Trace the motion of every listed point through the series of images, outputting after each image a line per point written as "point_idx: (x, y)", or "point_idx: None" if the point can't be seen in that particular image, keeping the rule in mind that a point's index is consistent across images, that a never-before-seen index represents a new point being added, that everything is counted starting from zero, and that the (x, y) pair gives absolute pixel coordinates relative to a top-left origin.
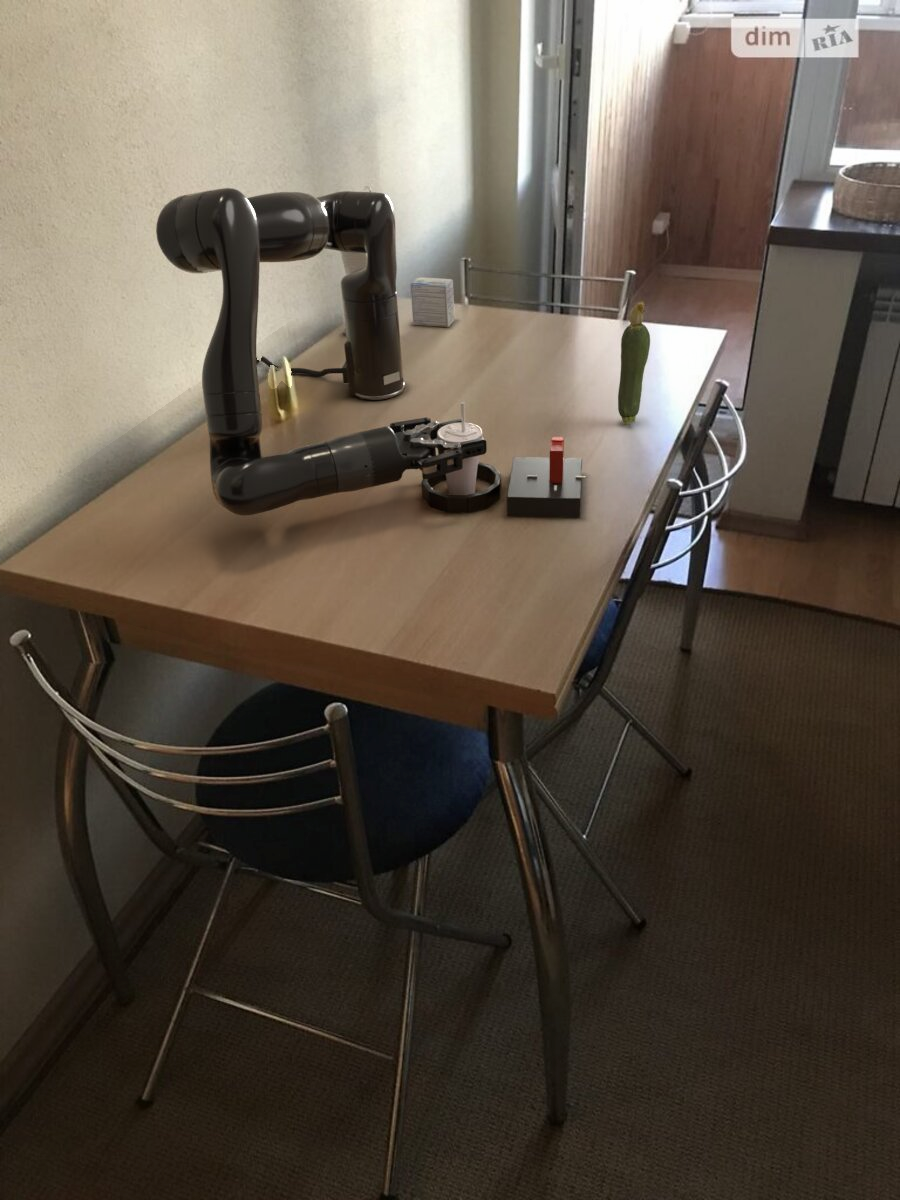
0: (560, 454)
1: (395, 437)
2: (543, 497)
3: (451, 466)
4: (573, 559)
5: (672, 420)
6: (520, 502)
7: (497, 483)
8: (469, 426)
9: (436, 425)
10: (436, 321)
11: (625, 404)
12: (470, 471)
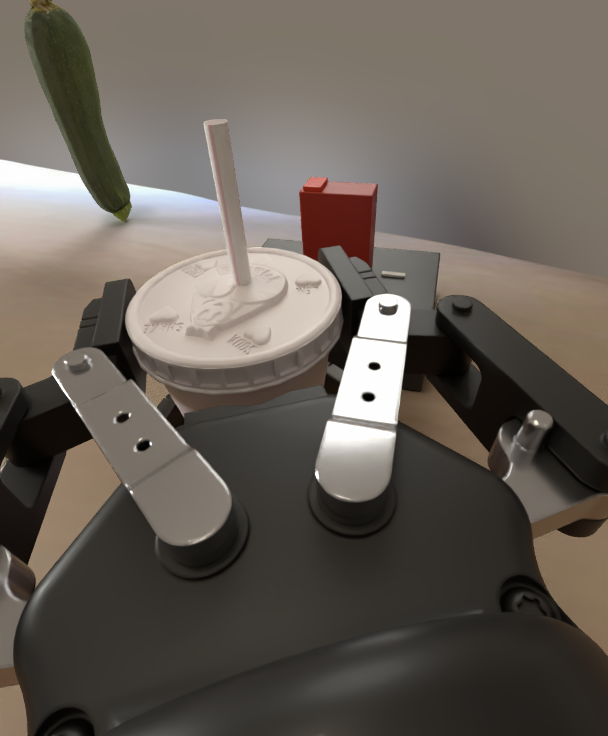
0: (376, 195)
1: (512, 632)
2: (435, 293)
3: (464, 385)
4: (604, 315)
5: (149, 193)
6: None
7: (327, 365)
8: (194, 271)
9: (109, 361)
10: None
11: (115, 183)
12: None
